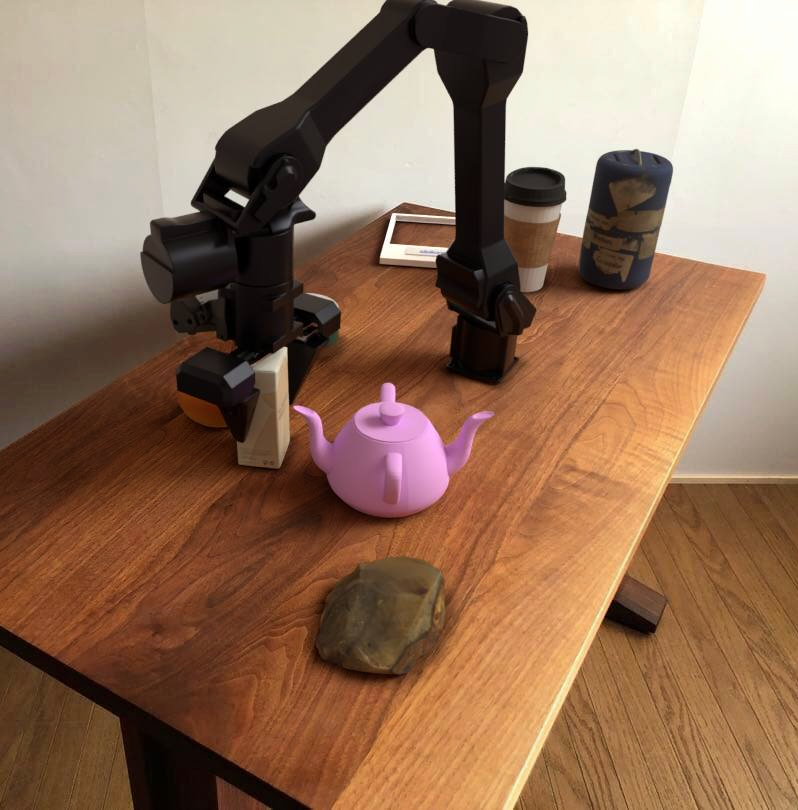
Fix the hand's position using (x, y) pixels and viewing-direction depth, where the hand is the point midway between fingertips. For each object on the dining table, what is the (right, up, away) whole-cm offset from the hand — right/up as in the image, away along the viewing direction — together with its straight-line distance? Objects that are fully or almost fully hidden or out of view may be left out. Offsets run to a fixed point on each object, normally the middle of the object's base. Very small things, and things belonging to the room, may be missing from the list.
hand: (264, 421), depth 89 cm
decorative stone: (+10, -16, -18) cm, 26 cm away
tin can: (+4, +9, +21) cm, 23 cm away
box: (0, -3, +2) cm, 4 cm away
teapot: (+12, -6, -3) cm, 14 cm away
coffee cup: (+34, +18, +36) cm, 52 cm away
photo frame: (+24, +26, +47) cm, 59 cm away
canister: (+46, +19, +37) cm, 62 cm away
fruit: (-5, 0, +8) cm, 9 cm away
